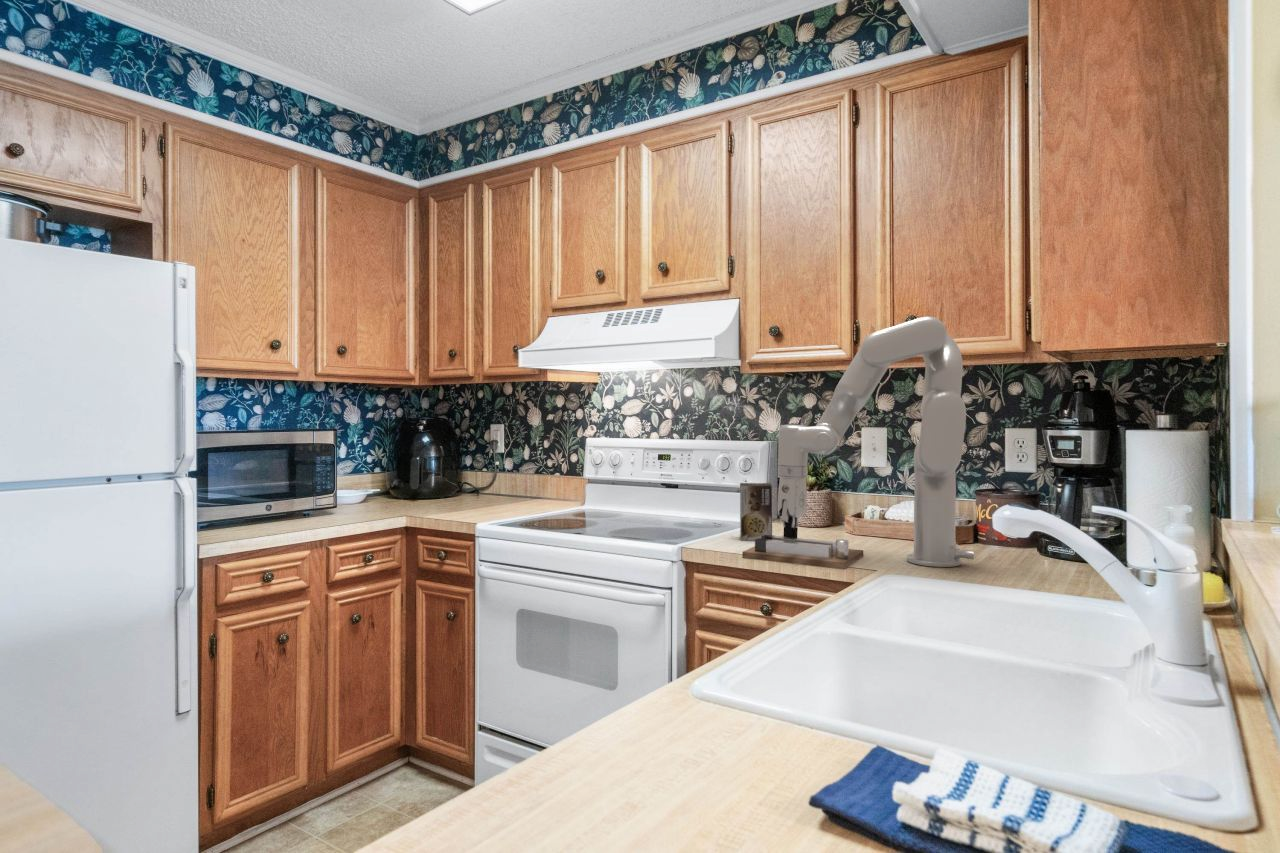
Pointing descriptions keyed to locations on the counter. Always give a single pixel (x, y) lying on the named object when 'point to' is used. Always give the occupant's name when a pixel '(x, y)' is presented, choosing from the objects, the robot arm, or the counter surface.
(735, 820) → the counter surface
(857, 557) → the cutting board
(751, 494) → the printed cardboard box
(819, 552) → the tongs fixed
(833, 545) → the arm
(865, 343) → the robot arm
